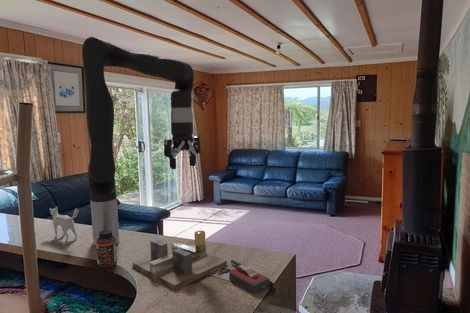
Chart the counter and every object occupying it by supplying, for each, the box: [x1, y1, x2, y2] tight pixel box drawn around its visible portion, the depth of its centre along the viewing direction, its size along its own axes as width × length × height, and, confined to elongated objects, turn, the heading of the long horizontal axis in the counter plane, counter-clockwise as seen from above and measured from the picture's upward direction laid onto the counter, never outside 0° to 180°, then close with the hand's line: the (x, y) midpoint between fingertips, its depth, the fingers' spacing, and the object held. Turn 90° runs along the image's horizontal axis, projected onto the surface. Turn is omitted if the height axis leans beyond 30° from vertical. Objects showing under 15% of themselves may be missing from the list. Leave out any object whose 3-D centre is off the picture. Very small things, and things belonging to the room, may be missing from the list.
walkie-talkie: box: [228, 259, 275, 295], centre depth 103 cm, size 9×4×20 cm
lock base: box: [132, 238, 228, 291], centre depth 111 cm, size 22×21×8 cm
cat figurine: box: [49, 205, 80, 243], centre depth 136 cm, size 4×20×14 cm, turn 54°
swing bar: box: [171, 230, 207, 257], centre depth 107 cm, size 13×3×7 cm, turn 55°
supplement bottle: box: [95, 230, 117, 269], centre depth 113 cm, size 6×6×11 cm
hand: (183, 167), depth 121 cm, fingers open, 8 cm apart
